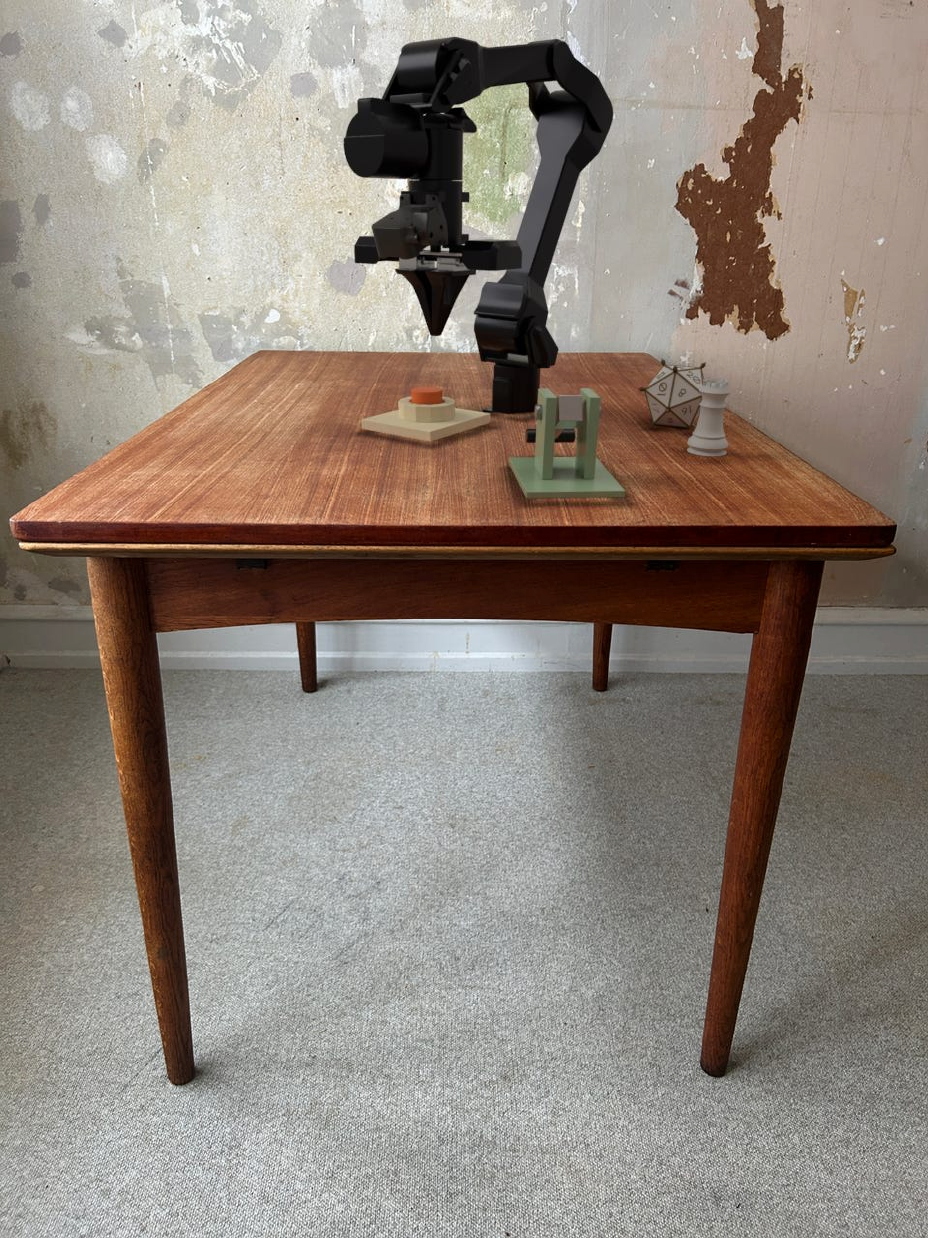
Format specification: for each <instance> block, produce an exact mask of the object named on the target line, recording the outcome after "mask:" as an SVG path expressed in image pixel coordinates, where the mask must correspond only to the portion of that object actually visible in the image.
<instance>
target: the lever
mask: <svg viewBox="0 0 928 1238" xmlns="http://www.w3.org/2000/svg"><path fill="white" fill-rule="evenodd" d="M556 397H557V405H556V422H555V440H554V444H574V443H575V442H576V429H577V428H578V426H579V425H580V424H581V422H582V421H583V410H582V395H580V394H558V395H557V396H556ZM524 440H525V443H526V444H536V428H526V429H525V433H524Z"/></svg>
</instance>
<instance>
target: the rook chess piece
mask: <svg viewBox="0 0 928 1238" xmlns="http://www.w3.org/2000/svg"><path fill="white" fill-rule="evenodd" d="M699 391H700V393H701V395H702V401H701V403H700V404H699V405H700V407H701V408H700V415H699V417H698V418H697V424H696V426H695V428H694V431H692V435H691V436H690V437H689V438H688V439H687V441H686V444H687V445H688V448H687V449H686V451H687V452H688V453H690V454H692V455H696V456H703V457H721V456H726V454H728V452H727V451H726V449H727V448H728V447H729V442H728V440H727V439H726V433H725V429H724V414H725V408H727V405H726V398H727V397H728V396H729V395H730V394H731V393H732V390H730V388H729V381H728V380H725V379H720V380H719V382H717V378H711V381H710V379H708V378H707V379H704V380H703V385H702V386H701V388H700V389H699Z"/></svg>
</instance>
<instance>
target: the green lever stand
mask: <svg viewBox="0 0 928 1238" xmlns="http://www.w3.org/2000/svg"><path fill="white" fill-rule="evenodd" d="M579 395H582V410H583V421H582V422H581V424H580V425H579V426H578V427H577V428H576V429H577V430H576V445H575V456H555V455H554V454H555V443H554V440H555V422H556V405H557V397H558V396H556V395H555V393H553V392H552V391H551V390H550V388H547V387H544V388H543V387H542V388H541V387H540V388H539V389H538V405H535V412H534V420H535V421H536V425H535V426H536V427H535V429H536V443H535V448H534V456H531V457H530V456H529V457H527V456H525V457H524V456H523V457H521V456H520V457H514V456H513V457H511V456H510V457H508V465H509V467H510V468H511V471H512V473H513V474H514V477H515V479H516V481H517V483H518V485H519V487H520V489H521V491H522V492H523V495H524V497H525V498H526V499H586V498H588V499H591V498H592V499H595V498H626V489H625V488H624V487H622V485H621V484H620V483H619V481H618V480H617V479H616V478H615V476H613V475H612V473H611V472H610V471H609V469H607V467H605V465H604V464H603V463H602V462H601V460H600V459H599V458H598V457H597V451H598V450H597V449H598V438H599V437H598V436H599V426H600V425H599V424H600V419H601V416H602V406H601V398H602V397H601V396H600V395H598V394H597V393H596V392H595V391H594V390H593V389H592V388H591V387H585V388H584V387H581V388H580V389H579Z"/></svg>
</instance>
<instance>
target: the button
mask: <svg viewBox="0 0 928 1238" xmlns="http://www.w3.org/2000/svg"><path fill="white" fill-rule="evenodd" d="M410 393H411V396H412V403H414V404H424V405H432V404H441V403H442V397H443V388H441V387H436V386H416V387H413V388H411V391H410Z"/></svg>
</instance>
